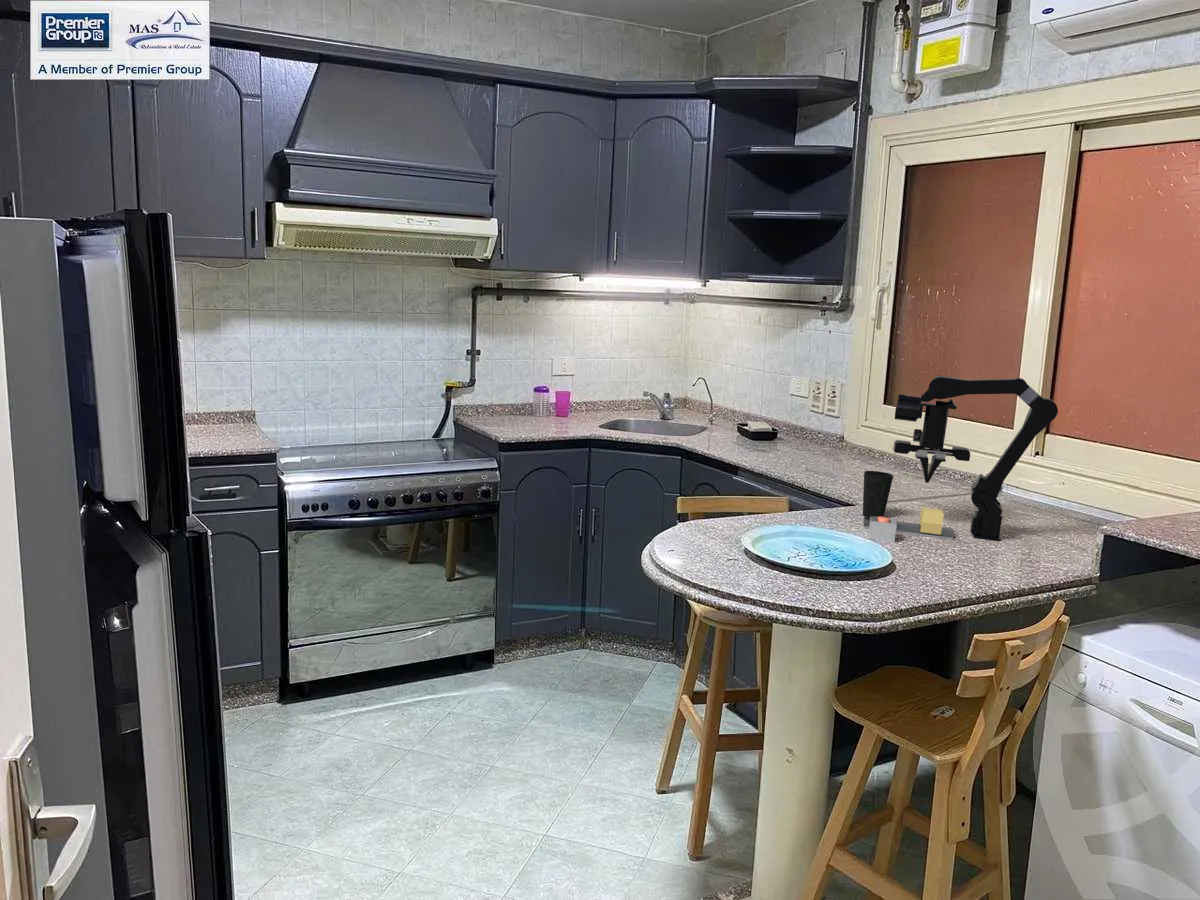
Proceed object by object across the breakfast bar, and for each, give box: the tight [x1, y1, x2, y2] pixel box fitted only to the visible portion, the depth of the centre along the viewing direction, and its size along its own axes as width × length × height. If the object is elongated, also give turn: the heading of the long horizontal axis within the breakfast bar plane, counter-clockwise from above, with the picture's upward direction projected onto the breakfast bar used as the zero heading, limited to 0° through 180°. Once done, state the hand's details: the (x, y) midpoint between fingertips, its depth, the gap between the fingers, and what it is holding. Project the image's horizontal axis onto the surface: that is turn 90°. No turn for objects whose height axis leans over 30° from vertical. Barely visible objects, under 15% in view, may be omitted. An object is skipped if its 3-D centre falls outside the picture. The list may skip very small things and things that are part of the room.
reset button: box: [878, 515, 891, 522], centre depth 233 cm, size 3×3×2 cm
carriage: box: [918, 506, 945, 535], centre depth 241 cm, size 5×5×5 cm
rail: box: [862, 516, 954, 541], centre depth 243 cm, size 22×6×2 cm, turn 76°
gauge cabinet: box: [868, 516, 897, 543], centre depth 233 cm, size 6×6×4 cm
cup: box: [862, 470, 894, 518], centre depth 256 cm, size 8×8×12 cm
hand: (926, 482), depth 247 cm, fingers closed
